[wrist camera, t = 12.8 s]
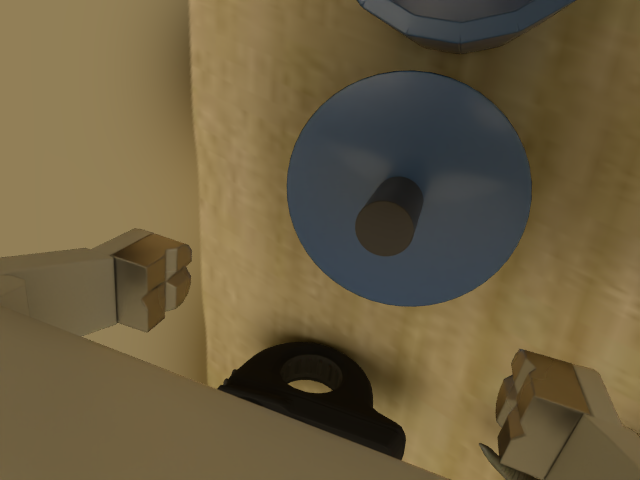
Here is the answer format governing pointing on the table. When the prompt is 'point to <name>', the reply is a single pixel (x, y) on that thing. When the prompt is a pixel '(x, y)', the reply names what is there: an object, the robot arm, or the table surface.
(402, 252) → the lid
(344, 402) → the controller
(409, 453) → the table surface
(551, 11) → the pot
